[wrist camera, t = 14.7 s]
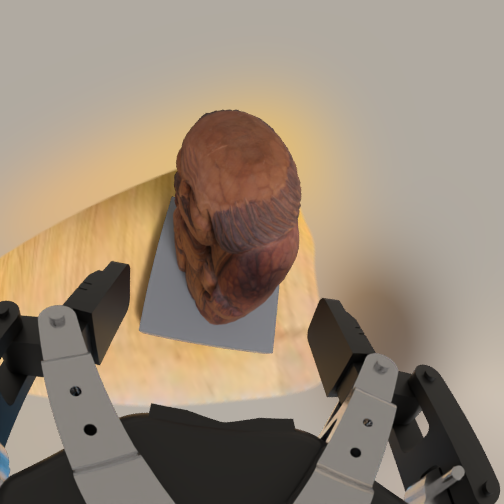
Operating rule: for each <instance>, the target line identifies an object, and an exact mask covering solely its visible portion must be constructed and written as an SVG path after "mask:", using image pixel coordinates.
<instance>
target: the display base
mask: <svg viewBox="0 0 504 504" xmlns="http://www.w3.org/2000/svg"><path fill="white" fill-rule="evenodd" d="M174 200H175V197H173V196H172V198H171V201H170V205H169V208H168V211H167V215H166V218H165V221H164V225H163V229H162V232H161V236H160V239H159V243H158V247H157V251H156V255H155V259H154V263H153V267H152V271H151V275H150V279H149V284H148V288H147V293H146V297H145V302H144V307H143V312H142V317H141V322H140V328H139V331H140V332H142V333H145V334H149V335H154V336H158V337H163V338H168V339H173V340H178V341H183V342H189V343H194V344H200V345H206V346H212V347H219V348H225V349H232V350H239V351H247V352H255V353H264V354H269V353H273V344H274V335H275V325H276V315H277V304H278V293H279V285H278V286H277V287H276V289H275V290H274V292H273V294H272V295H271V296H270V297H269V298H268V299H267V300H266V301H265V302H264V303H263V304H262V305H260V306H259V307H258V308H256V309H255V310H253V311H252V312H250V313H249V314H247V315H246V316H245V317H242V318H240V319H238V320H236V321H234V322H230V323H228V324H223V325H213V324H210V323H209V322H208V321H207V320H206V319H205V318H204V317H203V316H202V315H201V314H200V312H199V310H198V308H197V307H196V304H195V300H194V299H193V298H192V297H191V295H190V293H189V291H188V287H187V281H186V273H185V272H183V271H180V269H179V267H178V264H177V257H176V247H175V239H174V225H173V223H174V222H173V213H174V210H175V209H176V208H177V207H176V205H175V202H174Z"/></svg>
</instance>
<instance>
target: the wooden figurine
mask: <svg viewBox="0 0 504 504" xmlns="http://www.w3.org/2000/svg"><path fill="white" fill-rule="evenodd" d="M176 167H177V170H178V171H177V172H176V174H175V176H174V178H175V180H174V187H175V190H176V194H175V200H174V202H175V205H176V207H177V208H176V209H175V210H174V213H173V222H174V223H173V225H174V239H175V247H176V257H177V264H178V267H179V269H180V271H183V272H185V273H186V281H187V287H188V291H189V293H190V295H191V297H192V298H193V299H194V300H195V304H196V307H197V308H198V310H199V312H200V314H201V315H202V316H203V317H204V318H205V319H206V320H207V321H208V322H209V323H210V324H213V325H223V324H228V323H230V322H234V321H236V320H238V319H240V318H242V317H245V316H246V315H247V314H249V313H250V312H252V311H253V310H255V309H256V308H258V307H259V306H260V305H262V304H263V303H264V302H265V301H266V300H267V299H268V298H269V297H270V296H271V295H272V294H273V292H274V290H275V289H276V287H277V286H278V285H279V284H280V283H281V282H282V281H283V280H284V279H285V277H286V275H287V273H288V272H289V270H290V268H291V267H292V265H293V263H294V261H295V259H296V256H297V253H298V249H299V230H298V216H299V208H300V206H301V205H300V201H301V187H300V180H299V177H298V174H297V168H296V164H295V162H294V161H293V158H292V156H291V154H290V152H289V151H288V148H287V147H286V145H285V144H284V142H282V140H281V138H280V137H279V136H278V135H277V134H276V133H275V131H274V130H273V128H271V127H270V126H269V125H268V124H266V123H265V122H264V121H262V120H261V119H260V118H258V117H255V116H253V115H250V114H248V113H245V112H241V111H239V110H233V111H232V110H221V111H214V112H211V113H206V114H204V115H203V116H202V117H201V118H200V119H199V120H198V121H197V122H196V123H195V125H194V126H193V127H192V128H191V129H190V131H189V132H188V133H187V135H186V137H185V139H184V140H183V143H182V148H181V149H180V150H179V153H178V155H177V160H176Z"/></svg>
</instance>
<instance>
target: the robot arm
mask: <svg viewBox="0 0 504 504" xmlns="http://www.w3.org/2000/svg"><path fill="white" fill-rule="evenodd" d="M129 301H130V266H129V264H124V263H119V262H114V261H111V262H110V263H109V265H108V266H107V267H106V268H105V269H104V270H103V271H100V270H98V271H96V272H94V273H92V274H90V275H88V277H87V278H86V279H85V280H84V281H83V283H81V284H80V286H79V287H78V288H77V289H76V290H75V291H74V292H73V294H72V295H71V296H70V297H69V298H68V299H67V301H66V302H65V303H64V304H63V305H55V306H50V307H48V308H46V309H44V310H43V311H42V312H41V313H40V314H39V317H32V316H21V314H20V310H19V307H18V305H17V304H15V303H14V302H11V301H1V302H0V359H1V357H2V358H3V360H4V361H3V363H2V364H1V366H0V504H494V503H495V502H496V501H497V500H498V498H499V494H500V486H499V482H498V480H497V478H496V475H495V473H494V471H493V469H492V467H491V464H490V462H489V460H488V458H487V456H486V454H485V452H484V450H483V448H482V446H481V444H480V442H479V440H478V439H477V437H476V435H475V433H474V431H473V429H472V427H471V425H470V424H469V422H468V420H467V418H466V416H465V415H464V413H463V411H462V410H461V408H460V406H459V404H458V403H457V401H456V399H455V398H454V396H453V394H452V393H451V391H450V390H449V388H448V386H447V385H446V383H445V381H444V380H443V378H442V377H441V375H440V374H439V373H438V372H437V371H436V370H435V369H433V368H432V367H430V366H427V365H419V366H417V367H416V369H415V370H414V371H413V373H412V374H409V373H405V372H400V371H398V368H397V366H396V364H395V363H394V362H393V361H392V360H391V359H390V358H388V357H386V356H384V355H382V354H377V353H375V351H374V349H373V347H372V346H371V344H370V343H369V341H368V339H367V337H366V336H365V335H364V332H363V331H362V329H360V326H359V324H358V322H357V321H356V319H355V318H353V317H352V316H351V315H350V314H349V313H348V312H346V311H345V309H344V308H343V306H342V304H341V303H340V301H339V300H333V299H326V298H322V299H321V300H320V301H319V303H318V306H317V308H316V311H315V313H314V316H313V318H312V321H311V323H310V326H309V329H308V342H309V345H310V348H311V351H312V354H313V357H314V360H315V363H316V366H317V369H318V372H319V375H320V378H321V381H322V384H323V387H324V390H325V393H326V396H327V397H338V398H339V401H338V403H337V404H336V406H335V407H334V409H333V411H332V413H331V415H330V417H329V418H328V420H327V422H326V424H325V425H324V427H323V429H322V430H321V432H320V434H319V435H318V437H316V436H315V435H313V434H310V433H308V432H305V431H302V430H299V429H295V426H294V422H293V419H271V418H257V419H250V420H243V421H235V422H227V423H226V422H219V421H216V420H213V419H210V418H207V417H204V416H201V415H198V414H196V413H193V412H190V411H188V410H183V409H177V408H172V407H166V406H161V405H157V404H152V403H151V407H150V411H149V413H138V414H131V415H126V416H123V417H120V418H119V417H118V416H117V413H116V411H115V409H114V407H113V405H112V403H111V401H110V399H109V396H108V394H107V392H106V390H105V388H104V385H103V383H102V381H101V378H100V376H99V373H98V371H97V368H96V366H95V364H97V365H100V364H101V362H102V360H103V358H104V356H105V354H106V352H107V350H108V348H109V346H110V344H111V342H112V340H113V338H114V336H115V334H116V332H117V330H118V328H119V326H120V324H121V322H122V320H123V318H124V316H125V314H126V312H127V310H128V307H129ZM36 376H38V377H44V380H45V385H46V389H47V393H48V397H49V401H50V405H51V409H52V412H53V416H54V419H55V423H56V426H57V429H58V432H59V435H60V438H61V441H62V444H63V446H64V449H63V450H61V451H59V452H57V453H55V454H53V455H51V456H50V457H48V458H46V459H44V460H42V461H40V462H38V463H36V464H34V465H32V466H30V467H28V468H26V469H24V470H22V471H20V472H18V473H16V474H13V475H12V476H10V477H9V473H10V468H9V457H8V454H7V451H6V450H5V445H6V443H7V440H8V437H9V435H10V432H11V430H12V427H13V425H14V422H15V420H16V418H17V415H18V413H19V411H20V409H21V406H22V404H23V402H24V400H25V398H26V396H27V394H28V392H29V390H30V388H31V386H32V384H33V382H34V380H35V378H36ZM421 411H423V413H424V415H425V417H426V419H427V421H428V424H429V431H428V433H427V435H426V436H425V437H424V438H423V436H422V433H421V431H420V429H419V427H418V424H417V422H416V420H415V417H416V416H417V415H418V414H419V413H420V412H421ZM388 441H389V444H390V447H391V449H392V452H393V455H394V458H395V461H396V464H397V467H398V470H399V473H400V476H401V479H402V482H403V485H404V488H405V496H404V500H402V499H401V498H399V497H398V496H396V495H395V494H393V493H392V492H390V491H389V490H387V489H386V488H385V487H383V486H382V485H380V484H379V483H377V482H376V481H375V477H376V475H377V472H378V469H379V466H380V463H381V461H382V458H383V454H384V452H385V448H386V445H387V442H388Z"/></svg>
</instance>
